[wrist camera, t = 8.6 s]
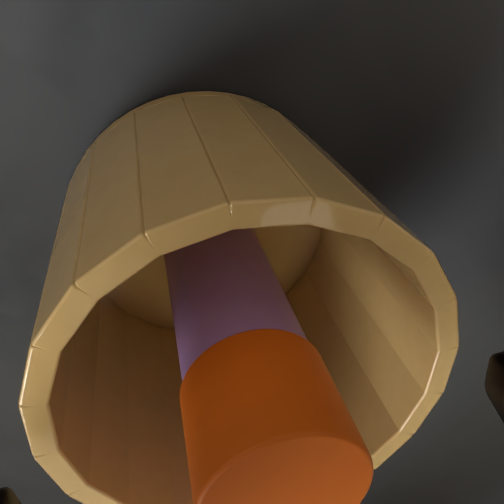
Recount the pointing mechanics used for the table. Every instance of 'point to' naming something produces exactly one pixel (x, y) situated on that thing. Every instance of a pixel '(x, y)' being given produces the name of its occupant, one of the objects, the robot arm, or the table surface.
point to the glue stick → (256, 386)
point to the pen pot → (159, 304)
